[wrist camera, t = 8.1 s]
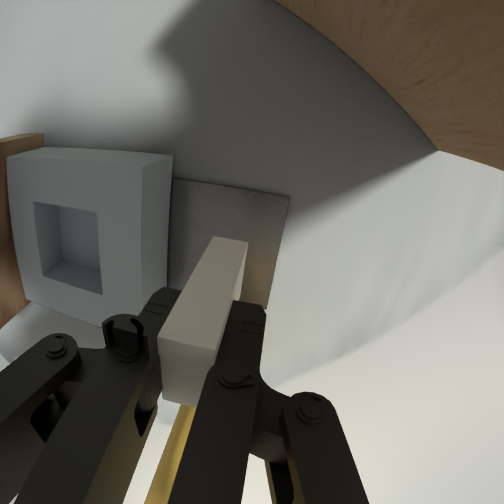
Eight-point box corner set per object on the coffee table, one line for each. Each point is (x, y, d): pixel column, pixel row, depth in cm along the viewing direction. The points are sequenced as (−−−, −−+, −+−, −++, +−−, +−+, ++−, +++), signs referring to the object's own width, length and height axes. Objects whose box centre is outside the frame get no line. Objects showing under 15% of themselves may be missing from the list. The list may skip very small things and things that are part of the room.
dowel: (212, 308, 22) (127, 520, 8) (266, 319, 22) (226, 547, 7) (208, 348, 24) (142, 535, 9) (258, 358, 24) (220, 555, 9)
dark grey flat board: (44, 164, 19) (43, 165, 19) (289, 197, 18) (289, 197, 18) (51, 256, 23) (50, 257, 22) (266, 307, 22) (266, 309, 21)
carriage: (44, 146, 18) (6, 156, 14) (173, 155, 18) (143, 165, 14) (54, 275, 23) (26, 298, 19) (166, 306, 22) (145, 341, 18)
